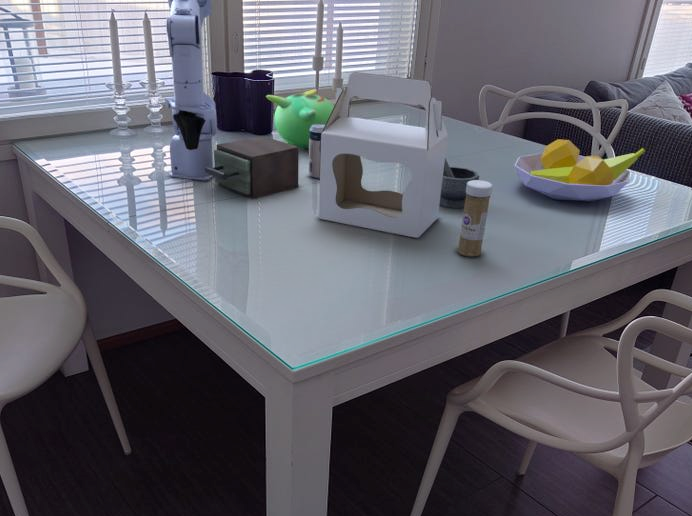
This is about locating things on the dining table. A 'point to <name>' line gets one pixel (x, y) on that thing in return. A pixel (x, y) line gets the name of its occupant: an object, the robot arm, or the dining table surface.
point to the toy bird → (300, 115)
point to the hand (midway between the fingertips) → (192, 148)
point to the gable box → (382, 158)
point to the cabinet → (267, 163)
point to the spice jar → (315, 149)
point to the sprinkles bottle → (474, 217)
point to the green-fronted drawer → (231, 171)
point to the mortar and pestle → (455, 185)
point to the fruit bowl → (574, 172)
